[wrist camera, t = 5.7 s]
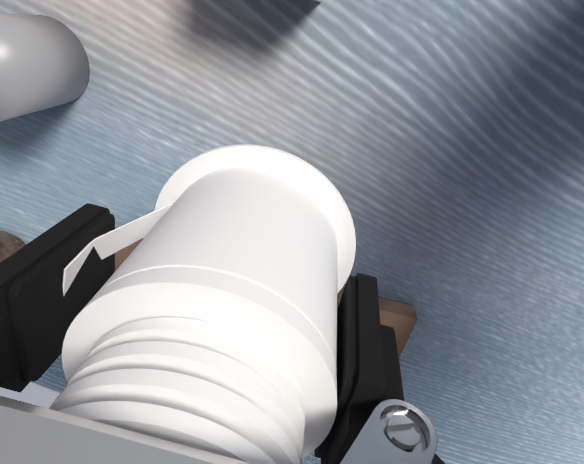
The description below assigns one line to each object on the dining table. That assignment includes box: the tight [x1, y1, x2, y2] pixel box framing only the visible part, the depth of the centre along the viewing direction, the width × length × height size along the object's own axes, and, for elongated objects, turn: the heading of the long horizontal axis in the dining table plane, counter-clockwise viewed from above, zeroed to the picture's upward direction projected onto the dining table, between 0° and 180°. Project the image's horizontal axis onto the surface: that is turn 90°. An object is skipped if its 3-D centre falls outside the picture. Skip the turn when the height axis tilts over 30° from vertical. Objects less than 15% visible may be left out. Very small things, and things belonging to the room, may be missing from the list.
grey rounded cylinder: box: [0, 14, 90, 122], centre depth 22 cm, size 5×5×6 cm
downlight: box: [49, 144, 356, 464], centre depth 10 cm, size 8×7×10 cm
